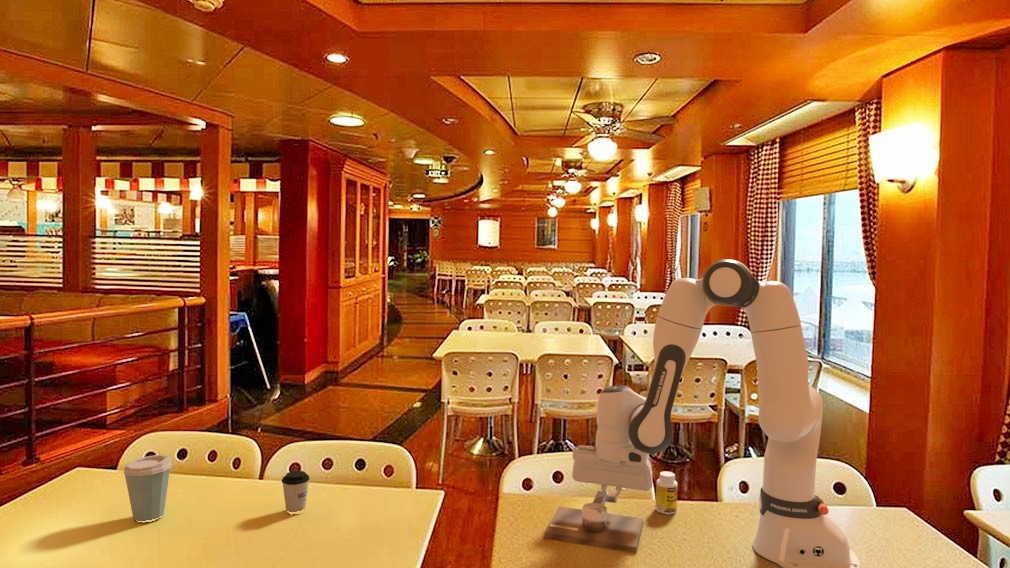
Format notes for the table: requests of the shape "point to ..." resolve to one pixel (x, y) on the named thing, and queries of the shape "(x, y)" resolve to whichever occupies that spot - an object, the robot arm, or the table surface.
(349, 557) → the table surface
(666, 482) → the supplement bottle
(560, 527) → the lock base
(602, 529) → the lever handle
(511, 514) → the table surface
